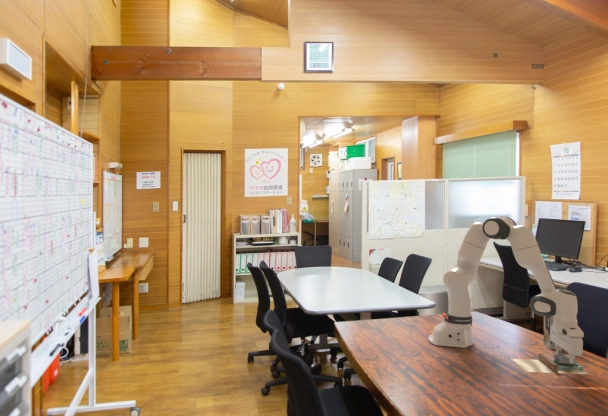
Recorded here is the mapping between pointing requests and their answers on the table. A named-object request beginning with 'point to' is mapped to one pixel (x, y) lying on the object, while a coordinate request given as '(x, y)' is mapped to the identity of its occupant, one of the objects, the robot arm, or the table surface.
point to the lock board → (547, 366)
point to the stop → (563, 360)
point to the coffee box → (548, 332)
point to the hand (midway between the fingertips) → (564, 358)
